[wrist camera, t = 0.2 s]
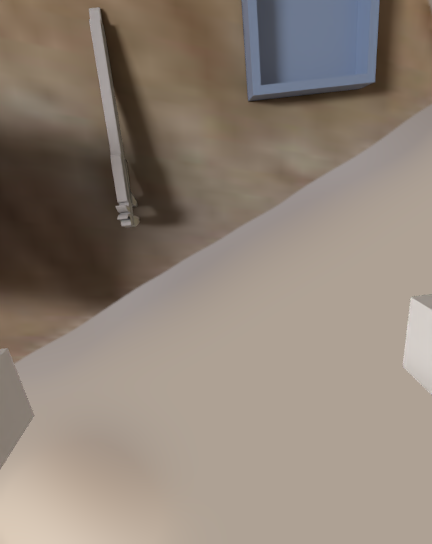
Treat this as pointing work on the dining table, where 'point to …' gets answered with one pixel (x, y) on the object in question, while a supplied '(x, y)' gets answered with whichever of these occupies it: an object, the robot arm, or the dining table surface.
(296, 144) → the dining table surface
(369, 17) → the tray
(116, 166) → the caliper
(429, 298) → the robot arm
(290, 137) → the dining table surface
